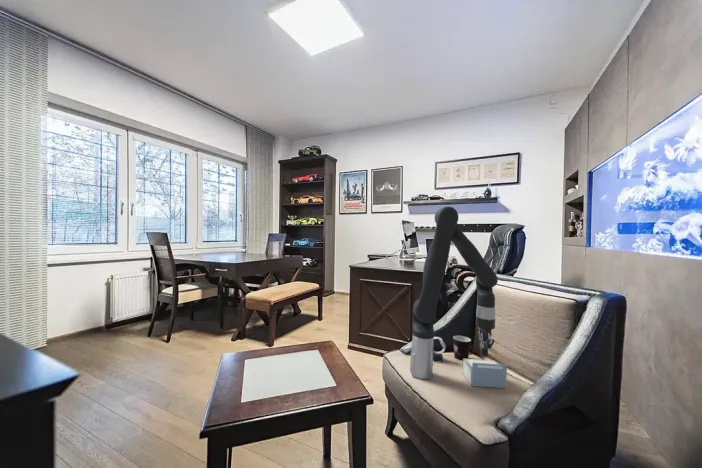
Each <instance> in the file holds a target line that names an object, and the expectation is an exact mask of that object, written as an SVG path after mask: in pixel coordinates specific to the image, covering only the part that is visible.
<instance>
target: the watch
mask: <svg viewBox="0 0 702 468" xmlns="http://www.w3.org/2000/svg"><path fill="white" fill-rule="evenodd" d="M434 340H438V341H439V343H440V345H441V347H442V349H441V350H440V351H439V350H434V349H433V362H434V361H442V362H441V363H443V359H444V355H443V353H444V352H445V351H446V343H445V342H444V340H443V339H442V337H440V336H434Z"/></svg>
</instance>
